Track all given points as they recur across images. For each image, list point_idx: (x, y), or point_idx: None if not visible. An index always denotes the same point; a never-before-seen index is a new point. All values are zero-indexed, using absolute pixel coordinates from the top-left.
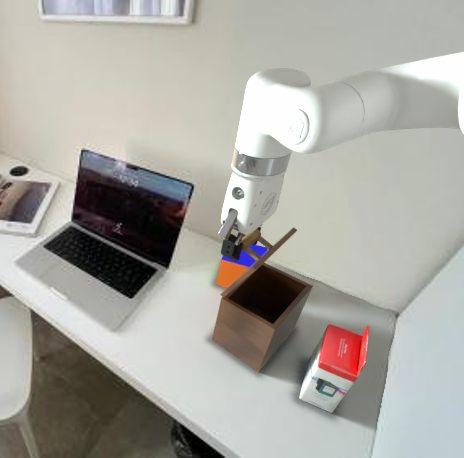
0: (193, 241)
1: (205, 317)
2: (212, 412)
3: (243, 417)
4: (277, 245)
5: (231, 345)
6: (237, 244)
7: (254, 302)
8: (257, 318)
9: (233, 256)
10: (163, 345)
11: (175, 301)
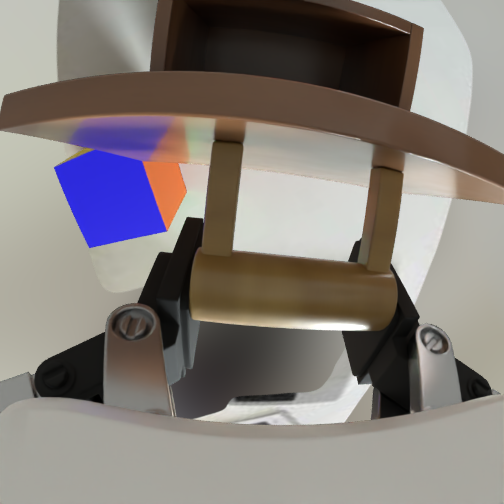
0: (117, 277)
1: None
2: (452, 95)
3: (436, 53)
4: (320, 110)
5: None
6: (447, 337)
7: None
8: (414, 74)
9: None
10: None
11: (284, 230)
